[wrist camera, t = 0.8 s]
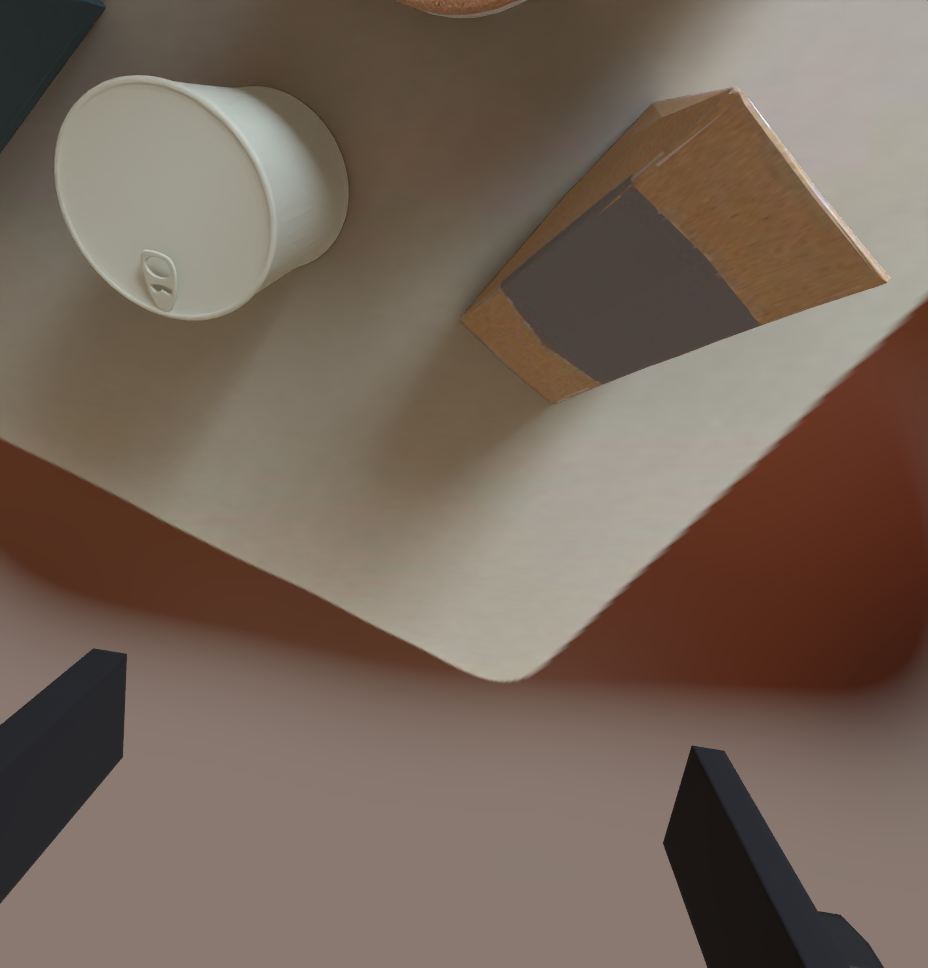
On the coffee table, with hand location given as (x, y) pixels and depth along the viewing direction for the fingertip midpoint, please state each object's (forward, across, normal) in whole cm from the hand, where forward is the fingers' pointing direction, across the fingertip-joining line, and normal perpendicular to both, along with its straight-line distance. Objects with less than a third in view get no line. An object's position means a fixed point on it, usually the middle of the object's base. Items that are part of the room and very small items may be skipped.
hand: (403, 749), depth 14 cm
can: (+26, -13, +16) cm, 33 cm away
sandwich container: (+26, +6, +14) cm, 30 cm away
